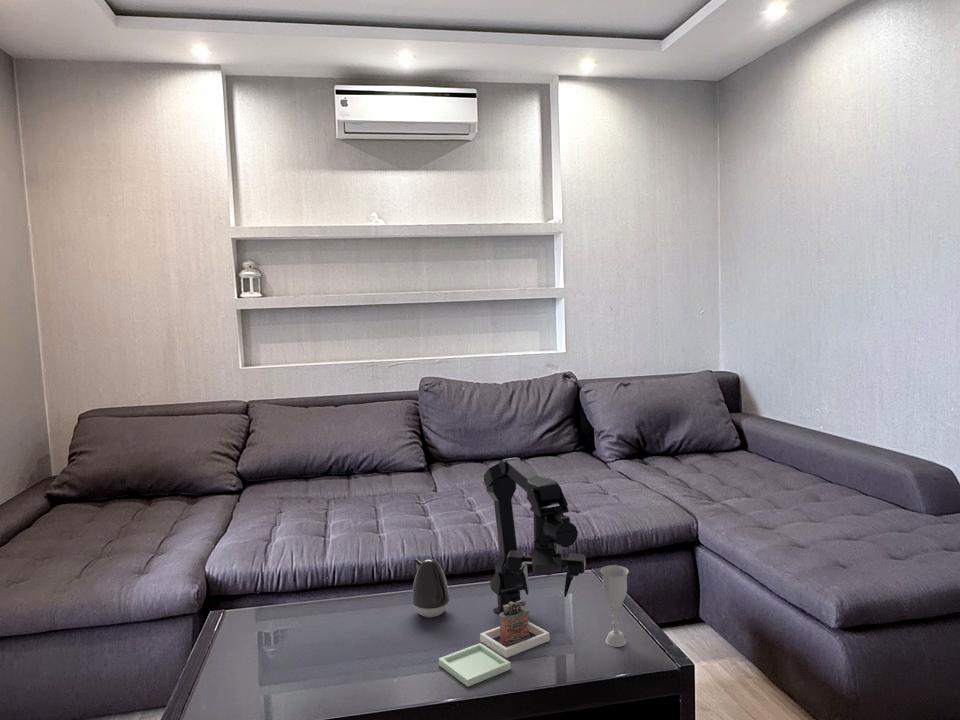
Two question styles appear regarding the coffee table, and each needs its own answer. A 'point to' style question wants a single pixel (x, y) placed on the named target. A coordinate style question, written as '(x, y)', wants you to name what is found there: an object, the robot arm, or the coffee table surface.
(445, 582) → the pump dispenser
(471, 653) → the tray
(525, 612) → the lighter
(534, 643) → the white picture frame
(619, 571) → the chalice
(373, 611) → the coffee table surface
